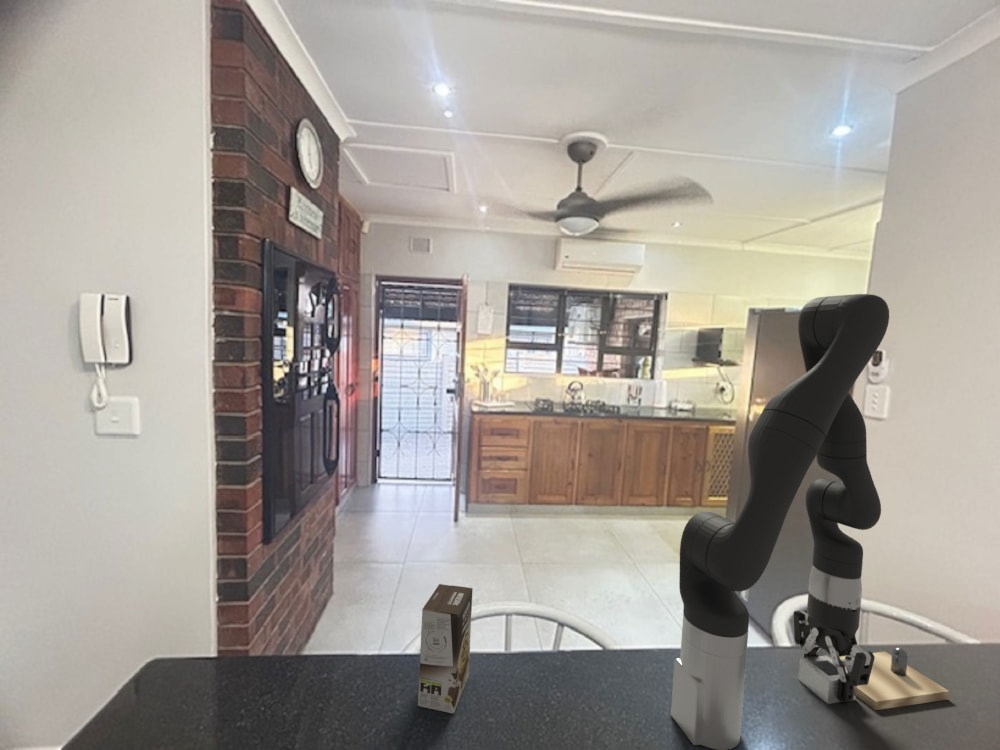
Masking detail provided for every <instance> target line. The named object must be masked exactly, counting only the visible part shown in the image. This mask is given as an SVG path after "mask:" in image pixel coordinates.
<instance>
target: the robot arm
mask: <svg viewBox="0 0 1000 750" xmlns="http://www.w3.org/2000/svg"><path fill="white" fill-rule="evenodd" d="M889 321H890V308H889V305H888V303H887V302H886V300H885V299H883V298H882V297H881V296H878V295H875V294H869V293H858V294H843V295H832V296H831V295H829V296H820V297H814V298H812V299H810V300H809V301H807V302H806V303H805V304H804V305H803V306H802V309H801V310H800V313H799V317H798V325H797V326H798V328H797V330H798V331H797V332H798V338H799V339H798V340H799V344H800V349H801V353H802V358H803V359H802V360H803V362H804V363H803V364H804V368H805V373H804V374H803V375H802V376H800V377H799V378H796V380H794V381H792V382H791V383H790V384H789V385H786V387H784V388H783V389H781V391H779V392H778V393H776V395H774V396H773V397H772V398H771V399H770V400H769V401H768V402H767V404H766V405H765V406H764V408H763V409H762V411H761V413H760V415H759V417H758V420H756V422H755V424H754V426H753V428H752V430H751V432H750V434H749V437H748V443H747V445H748V446H747V454H748V464H749V465H748V466H749V478H750V479H749V480H750V485H749V490H748V491H749V492H748V495H747V498H746V501H745V503H744V506H743V507H742V510H741V512H740V514H739V516H738V518H737V519H736V521H733V520H731V519H728V518H726V517H725V516H722V515H720V514H718V513H715V512H712V511H701V512H698V513H695V514H694V515H693V516H692V517H691V518H690V519H689V520H688V521H687V523H686V525H685V526H684V529H683V531H682V533H681V534H682V535H681V538H680V544H679V582H678V583H679V594H680V598H681V601H682V604H683V614H682V627H681V628H682V629H681V640H680V641H681V643H680V653H679V655H680V657H676V658H675V659H674V662H673V676H672V677H673V678H672V691H671V693H672V694H671V708H670V710H671V711H670V716H671V717H672V718H673V720H674V721H675V723H676V724H677V725H678V726H679V728H680V729H681V730H682V732H683V733H684V734H685V736H686V737H687V738H688V740H689V741H690V743H692V745H693V746H700V745H701V746H703V747H705V748H708V749H712V750H728V749H729V750H731V749H734V748H735V747H737V746H738V745H739V743H740V741H741V734H742V733H741V732H742V721H743V720H742V719H743V704H744V693H745V692H744V690H745V679H746V678H745V677H746V664H747V663H746V662H747V653H748V652H747V650H748V639H749V624H750V614H749V611H748V608H747V605H746V604H745V603H744V602H743V601H742V599H741V598H740V597H739V595H738V594H737V593H736V592H744V591H747V590H749V589H750V588H752V587H753V586H754V585H756V583H758V581H759V580H760V578H761V577H762V575H763V573H764V572H765V570H766V568H767V566H768V564H769V562H770V559H771V556H772V554H773V552H774V550H775V546H776V544H777V542H778V538H779V535H780V533H781V531H782V528H783V526H784V523H785V520H786V517H787V515H788V511H789V509H790V507H791V506H792V503H793V501H794V499H795V497H796V495H797V493H798V491H799V489H800V487H801V484H802V482H803V480H804V478H805V476H806V475H807V472H808V471H809V468H810V467H811V465H812V463H813V461H814V460H815V459H816V462H817V465H818V466H819V467H820V468H821V469H822V470H824V471H826V472H829V473H830V474H832V475H835V476H836V477H837V478H839V480H840V481H836V480H833V479H830V478H829V479H828V478H818V479H815V480H814V481H812V483H810V485H809V486H808V488H807V490H806V492H805V493H806V494H805V507H806V513H807V516H808V519H809V523H810V524H809V525H810V529H811V535H812V539H813V552H812V565H811V568H810V569H811V570H810V573H809V581H808V590H807V591H808V593H807V594H808V596H807V606H806V609H804V610H795V611H793V629H794V630H793V632H794V642H795V643H796V644H797V645H799V646H800V647H801V649H802V652H803V658H811V657H819V656H820V654H818V653H819V652H820V650H821V649H822V650H824V651H826V652H827V654H829V655H830V658H832V661H833V664H834V665H835V666H836V667H837V670H838V674H839V677H840V679H838V691H837V699H838V700H839V701H841V702H840V703H848V702H851V701H850V700H852V699H853V694H854V693H853V692H854V686H858V685H867V684H868V682H869V678H870V674H871V670H872V666H873V662H874V659H875V657H874V654H873V653H874V652H871V651H865V650H864V649H863V648H861V647H860V646H859V645H858V641H857V638H856V634H857V631H858V630H859V627H860V618H861V606H862V595H863V594H862V593H863V585H862V573H863V564H864V563H863V559H864V548H863V546H862V544H861V543H860V542H858V541H857V540H856V539H854V538H853V537H851V536H849V535H848V534H846V533H844V532H843V531H842V530H841V528H840V527H839V525H838V524H840V525H843V526H846V527H850V528H852V529H856V530H860V531H861V530H862V531H866V530H869V529H872V528H873V527H874V526H876V524H878V522H879V520H880V517H881V516H882V513H881V512H882V504H881V499H880V497H879V494H878V493H879V492H878V491H877V487H876V485H875V483H874V480H873V477H872V474H871V470H870V468H869V464H868V459H867V455H868V454H867V452H868V450H867V449H868V448H867V427H866V422H865V419H864V416H863V414H862V412H861V410H860V408H859V407H858V405H857V403H856V402H855V400H854V398H853V397H852V396H851V394H850V390H851V389H852V387H853V385H854V384H855V383H856V382H857V379H858V378H859V376H860V375H861V373H862V372H863V370H864V369H865V368H866V366H867V365H868V363H869V362H870V360H871V359H872V358H873V356H874V354H876V351H877V350H878V348H879V346H880V345H881V343H882V341H883V339H884V337H885V335H886V333H887V330H888V326H889ZM853 655H854V656H853ZM842 656H845V659H842V660H840V657H842ZM845 666H846V668H847V671H848V673H846V670H845Z"/></svg>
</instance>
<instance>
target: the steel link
mask: <svg viewBox="0 0 1000 750" xmlns="http://www.w3.org/2000/svg"><path fill="white" fill-rule="evenodd" d="M831 658H832V657H831V656H829V655H826V654H825V655H819V657H811V658H804V657H800V658H799V662H798V663H799V664H798V665H799V666H798V677H797V680H798V682H800V683H802V684H803V685H804V686H805V687H806V688H807V689H808V690H810V691H811V692H812V693H814V695H816V696H817V697H818V698H820V699H821V700H822V701H823V702H825V704H826V705H829V704H830V705H831V704H836V703H837V704H838V703H842V702H841V701H839V700H838V699H837V691H838V679H840V677H839V674H838V670H837V667H836V666H835V665H834V664H833V661H832V659H831ZM845 670H846V669H845ZM846 673H848V671H847V670H846ZM853 693H854V694H853V699H852V700H850V701H849V702H851V701H856V700H857V696H856V694H857V686H854V692H853Z"/></svg>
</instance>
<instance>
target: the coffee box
mask: <svg viewBox="0 0 1000 750" xmlns="http://www.w3.org/2000/svg"><path fill="white" fill-rule="evenodd" d="M472 605H473V588H472V587H469V586H467V587H466V586H462V585H461V586H460V585H448V584H443V583H439V584H438V585H437V587H436V589H435V590H434V591H433V593H432V594H431V596H430V598H428V600H427V602H426V603H425V604H424V606H423V607H422V609H421V610H422V611H421V627H420V628H421V630H420V633H421V634H420V649H419V651H420V654H419V655H420V656H419V675H418V676H419V677H418V695H417V706H418V707H421V708H425V709H430V710H435V711H440V712H444V713H447V714H455V712H456V710H457V706H458V704H459V702H460V700H461V697H462V694H463V692H464V689H465V686H466V684H467V683H468V682H467V681H468V679H469V675H470V657H471V656H470V655H471V654H470V653H471V629H472V627H471V626H472V610H473V608H472V607H473V606H472Z"/></svg>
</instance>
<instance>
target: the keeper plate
mask: <svg viewBox="0 0 1000 750" xmlns="http://www.w3.org/2000/svg"><path fill="white" fill-rule="evenodd" d="M872 653H873V654H874V657H875V659H874V662H873V666H872V670H871V674H870V678H869V682H868V684H867V685H858V686H857V694H856V698H858V699H860V700H861V701H862V702H864V704H866V705H868V706H869V707H871V709H873V710H874V711H879V710H885V709H895V708H899V707H900V708H901V707H906V706H913V705H919V704H926V703H932V702H940V701H946V700H947V701H948V700H949V696H950V691H949V689H946V688H945V687H943V686H941V685H940V684H938V683H936V682H935V681H934V680H932V679H930V677H929V678H928V677H927V676H925V675H924V674H922V673H921V672H919V671H917V670H916V669H914V668H913V667H912V666H909V665H908V660H909V659H908V657H909V655H908V652H907V650H905V649H904V648H903V647H898V646H895V647H894V648H892V650H891V654H890V653H889V652H887V651H879V652H872ZM853 656H854V654H853ZM830 658H831V659H832V657H830ZM842 659H845V656H840V660H842ZM845 669H846V670H847V668H846V666H845Z"/></svg>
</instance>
